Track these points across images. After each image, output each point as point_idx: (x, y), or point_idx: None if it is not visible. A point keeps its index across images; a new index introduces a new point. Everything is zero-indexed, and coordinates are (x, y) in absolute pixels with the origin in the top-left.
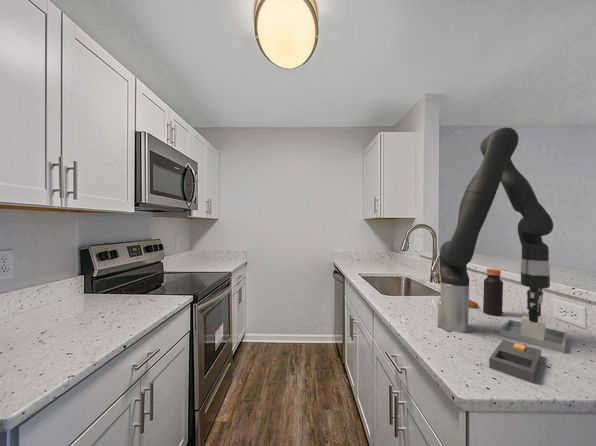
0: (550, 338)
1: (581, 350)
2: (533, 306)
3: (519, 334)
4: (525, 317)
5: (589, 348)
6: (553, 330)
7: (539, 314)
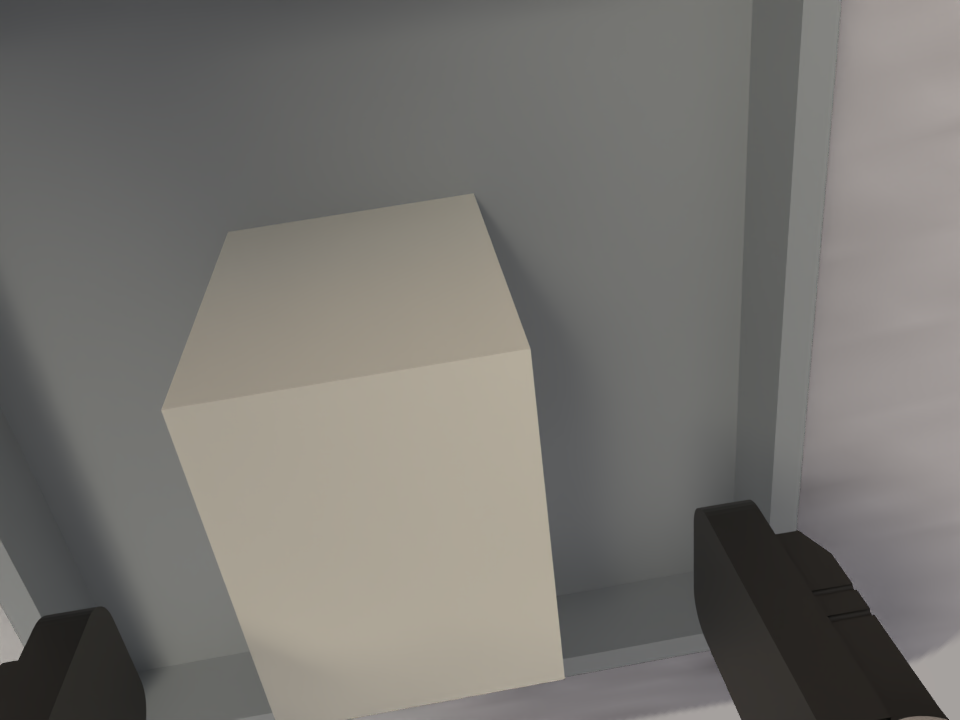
0: (547, 494)
1: (482, 701)
2: (803, 710)
3: (267, 203)
4: (408, 428)
5: (633, 714)
6: None
7: (714, 637)
